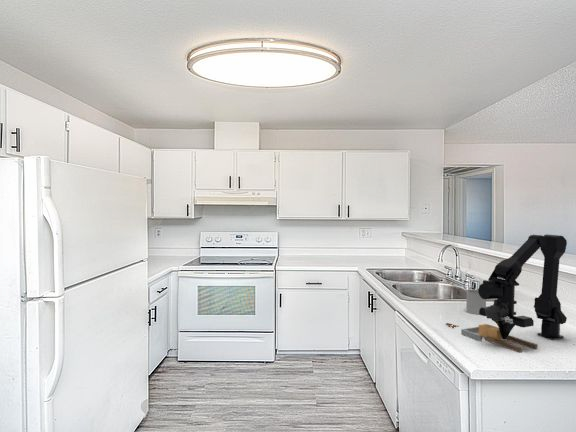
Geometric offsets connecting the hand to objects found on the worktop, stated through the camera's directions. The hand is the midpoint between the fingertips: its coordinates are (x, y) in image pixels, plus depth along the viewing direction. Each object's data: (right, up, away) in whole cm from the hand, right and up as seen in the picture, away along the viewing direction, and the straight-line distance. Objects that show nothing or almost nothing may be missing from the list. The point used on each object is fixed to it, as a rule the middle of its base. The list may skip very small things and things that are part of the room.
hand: (504, 339), depth 153 cm
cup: (+9, 0, +42) cm, 43 cm away
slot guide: (+1, -1, -2) cm, 3 cm away
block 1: (-3, -1, +7) cm, 8 cm away
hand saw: (-16, -1, +27) cm, 32 cm away
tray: (-3, -1, +8) cm, 8 cm away
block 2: (-2, -1, +3) cm, 4 cm away
